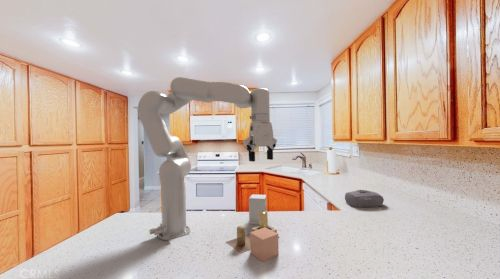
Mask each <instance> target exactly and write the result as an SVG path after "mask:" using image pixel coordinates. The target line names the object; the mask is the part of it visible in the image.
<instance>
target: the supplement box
mask: <svg viewBox="0 0 500 279" xmlns="http://www.w3.org/2000/svg"><path fill="white" fill-rule="evenodd" d="M261 211H266V212H267V213H268V211H267V194H251V195H250V196H249V197H248V223H249V225H250V224H251V225H260V222H259V212H261Z"/></svg>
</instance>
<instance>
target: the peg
mask: <svg viewBox="0 0 500 279" xmlns="http://www.w3.org/2000/svg"><path fill="white" fill-rule="evenodd" d="M268 221H269V220H268V211H267V212H266V211H261V212H259V222H260V224H259V226H260V229H261V228H264V227H266V228H268V225H269V224H268V223H269V222H268Z"/></svg>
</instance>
